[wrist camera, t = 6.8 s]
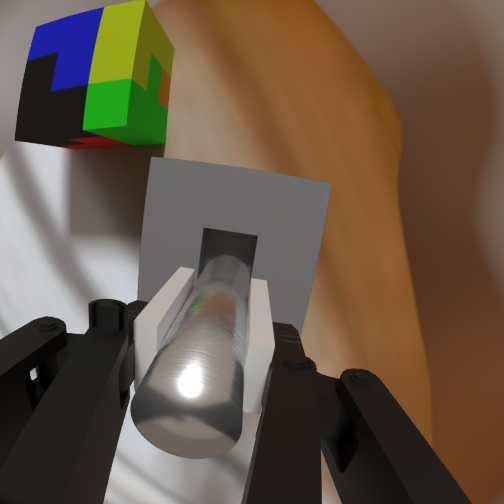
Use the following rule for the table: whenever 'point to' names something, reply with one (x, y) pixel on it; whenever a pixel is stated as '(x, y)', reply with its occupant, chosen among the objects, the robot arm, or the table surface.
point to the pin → (199, 369)
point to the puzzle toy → (97, 80)
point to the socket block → (233, 228)
